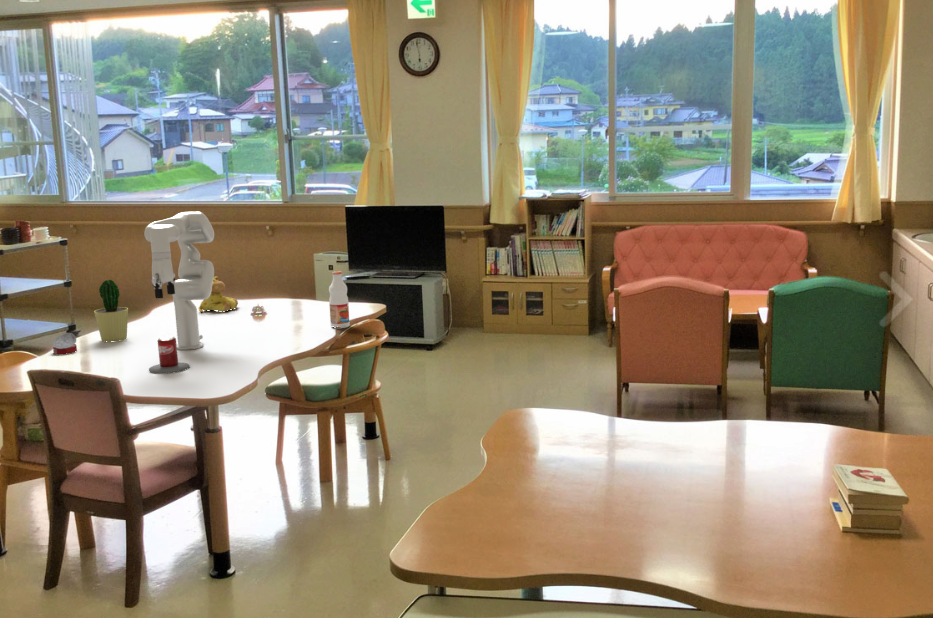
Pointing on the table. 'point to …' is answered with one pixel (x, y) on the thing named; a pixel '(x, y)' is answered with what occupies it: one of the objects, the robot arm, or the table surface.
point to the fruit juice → (338, 301)
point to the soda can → (168, 352)
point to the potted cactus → (111, 314)
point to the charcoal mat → (180, 367)
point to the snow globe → (65, 344)
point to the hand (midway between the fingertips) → (165, 296)
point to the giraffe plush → (218, 298)
